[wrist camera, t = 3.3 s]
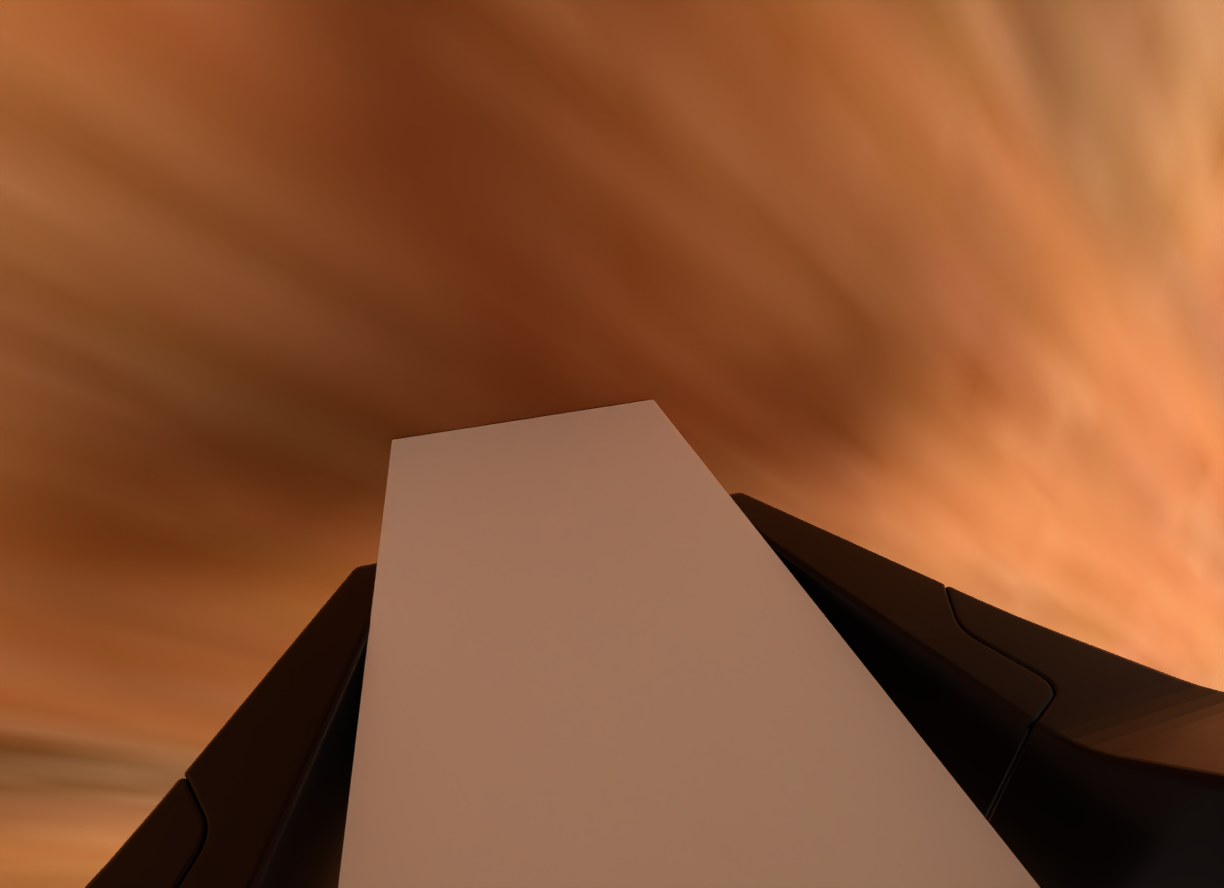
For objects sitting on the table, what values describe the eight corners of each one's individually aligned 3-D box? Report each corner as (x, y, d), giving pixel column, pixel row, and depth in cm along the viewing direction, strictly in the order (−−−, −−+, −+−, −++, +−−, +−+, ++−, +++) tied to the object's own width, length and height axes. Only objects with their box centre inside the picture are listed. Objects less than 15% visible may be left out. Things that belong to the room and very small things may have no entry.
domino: (653, 399, 12) (1063, 916, 4) (654, 467, 13) (1000, 1008, 5) (391, 439, 11) (296, 1230, 3) (410, 511, 11) (370, 1280, 4)
